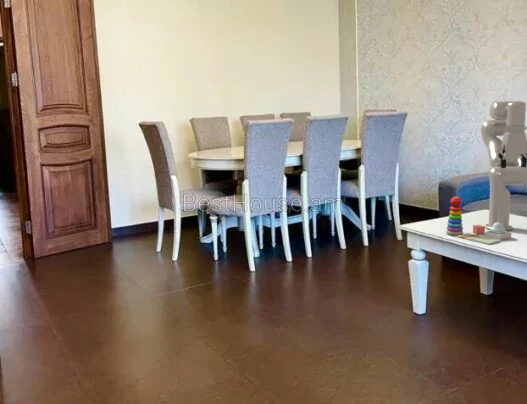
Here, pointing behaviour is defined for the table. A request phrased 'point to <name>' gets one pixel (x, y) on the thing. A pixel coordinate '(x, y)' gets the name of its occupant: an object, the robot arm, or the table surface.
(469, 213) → the table surface
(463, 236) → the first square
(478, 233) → the die
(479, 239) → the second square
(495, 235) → the popper housing
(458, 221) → the stacking toy
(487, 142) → the robot arm
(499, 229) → the dome
